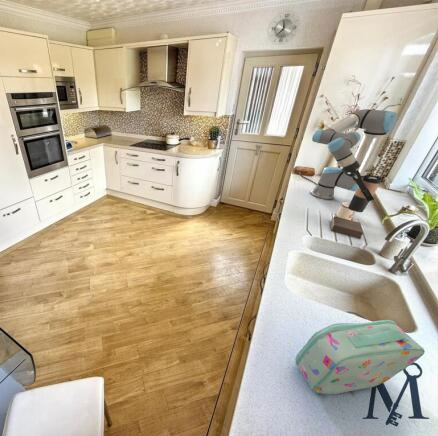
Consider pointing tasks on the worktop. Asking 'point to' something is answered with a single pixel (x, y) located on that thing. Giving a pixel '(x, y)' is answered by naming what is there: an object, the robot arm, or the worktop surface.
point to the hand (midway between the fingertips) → (369, 197)
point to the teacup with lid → (345, 211)
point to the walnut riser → (346, 227)
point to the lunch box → (356, 356)
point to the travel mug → (359, 199)
